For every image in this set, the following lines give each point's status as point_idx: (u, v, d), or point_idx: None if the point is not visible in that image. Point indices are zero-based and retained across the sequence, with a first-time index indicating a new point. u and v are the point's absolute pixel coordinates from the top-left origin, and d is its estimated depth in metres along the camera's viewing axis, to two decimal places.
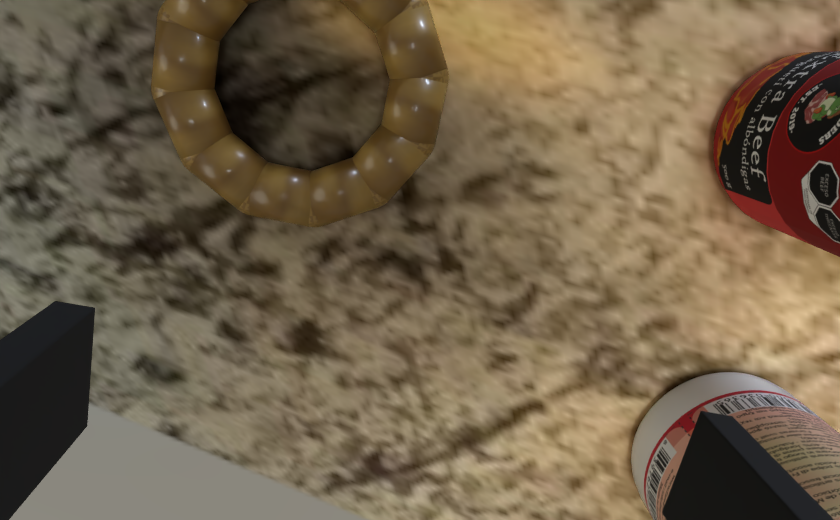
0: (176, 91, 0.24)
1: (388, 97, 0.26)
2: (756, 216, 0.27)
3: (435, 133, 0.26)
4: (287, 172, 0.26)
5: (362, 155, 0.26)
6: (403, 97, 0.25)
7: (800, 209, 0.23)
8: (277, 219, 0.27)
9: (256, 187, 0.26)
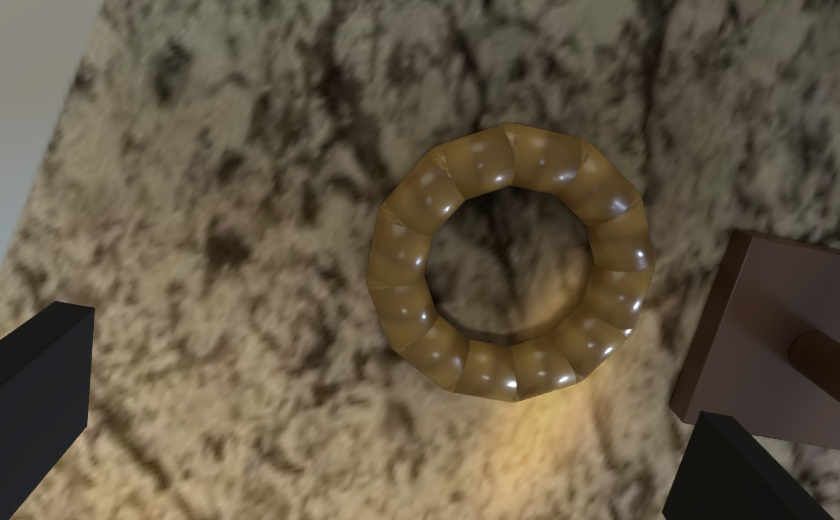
0: (514, 161, 0.24)
1: (496, 352, 0.27)
2: None
3: (461, 393, 0.27)
4: (426, 258, 0.25)
5: (442, 331, 0.26)
6: (498, 371, 0.26)
7: None
8: (376, 246, 0.25)
9: (413, 233, 0.24)
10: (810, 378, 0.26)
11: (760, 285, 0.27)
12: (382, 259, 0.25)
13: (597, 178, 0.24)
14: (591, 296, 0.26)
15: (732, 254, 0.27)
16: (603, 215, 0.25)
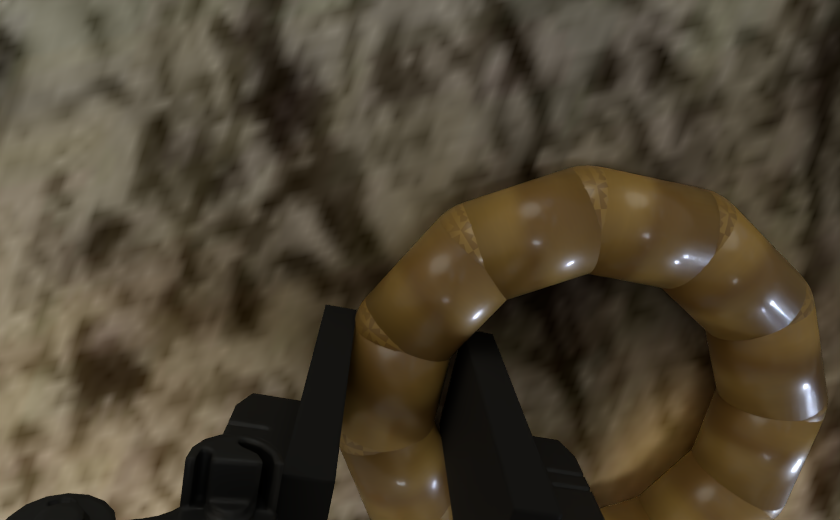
0: (600, 237, 0.13)
1: None
2: None
3: None
4: (437, 397, 0.15)
5: None
6: None
7: None
8: (350, 379, 0.14)
9: (417, 362, 0.14)
10: None
11: None
12: (361, 404, 0.14)
13: (746, 266, 0.13)
14: (714, 451, 0.16)
15: None
16: (752, 328, 0.14)
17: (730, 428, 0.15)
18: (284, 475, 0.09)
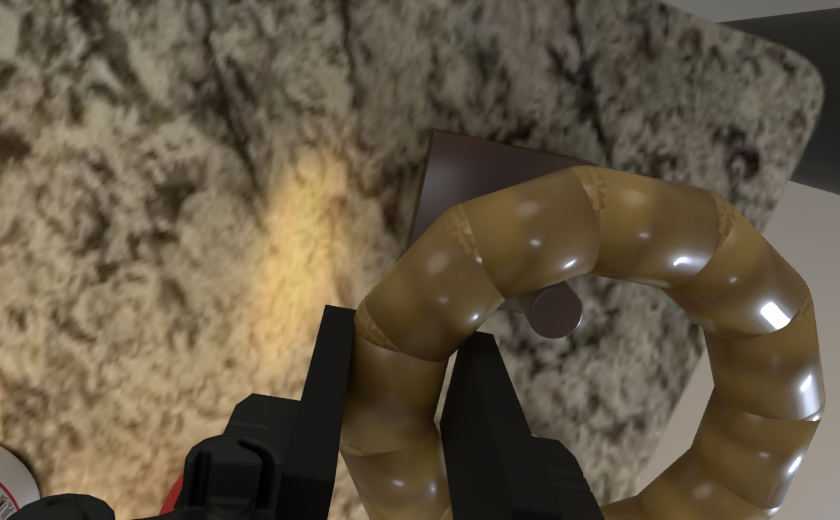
0: (599, 237, 0.13)
1: None
2: (169, 495, 0.37)
3: None
4: (436, 397, 0.15)
5: None
6: None
7: None
8: (349, 380, 0.14)
9: (416, 363, 0.14)
10: None
11: (446, 172, 0.33)
12: (360, 404, 0.14)
13: (745, 265, 0.13)
14: (713, 450, 0.16)
15: (428, 149, 0.33)
16: (750, 327, 0.14)
17: (728, 427, 0.15)
18: (283, 475, 0.09)
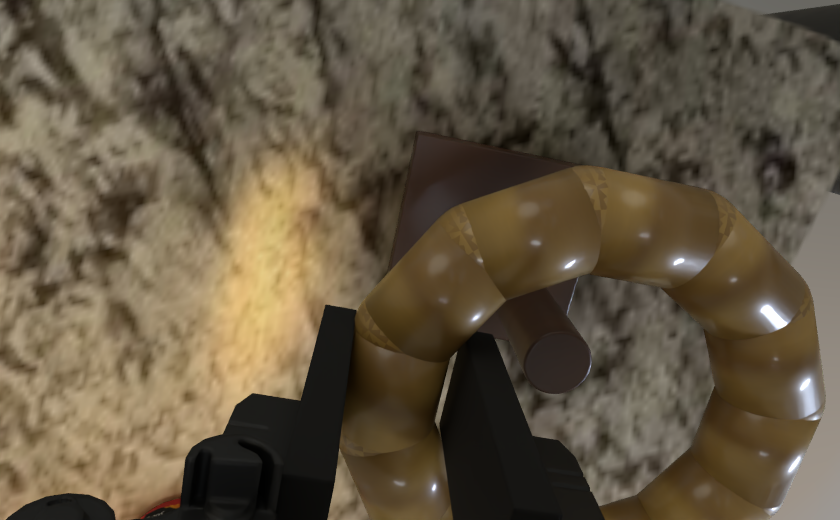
0: (600, 238, 0.13)
1: None
2: None
3: None
4: (437, 397, 0.15)
5: None
6: None
7: None
8: (350, 380, 0.14)
9: (417, 363, 0.14)
10: None
11: (432, 181, 0.28)
12: (361, 405, 0.14)
13: (746, 265, 0.13)
14: (713, 449, 0.16)
15: (412, 154, 0.29)
16: (751, 327, 0.14)
17: (729, 426, 0.15)
18: (283, 475, 0.09)
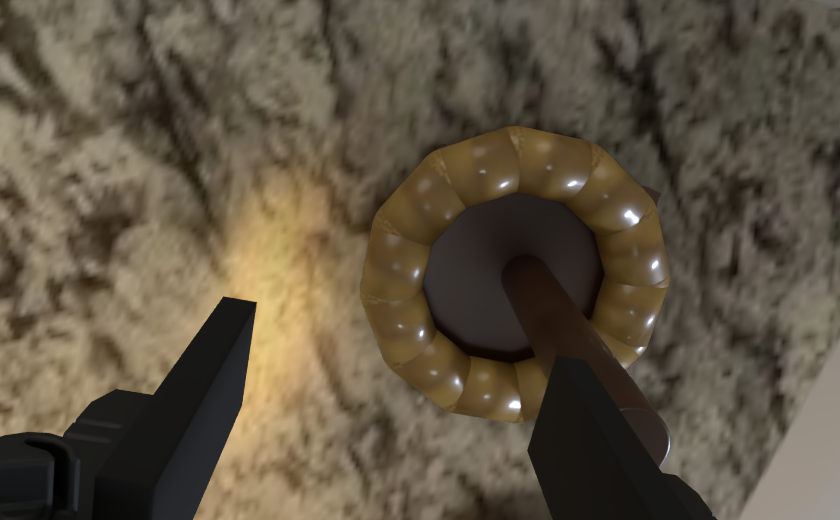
0: (519, 166, 0.22)
1: (499, 370, 0.25)
2: None
3: None
4: (424, 270, 0.24)
5: (441, 348, 0.24)
6: (501, 390, 0.25)
7: None
8: (370, 257, 0.23)
9: (410, 243, 0.23)
10: None
11: None
12: (377, 271, 0.23)
13: (608, 185, 0.22)
14: (601, 311, 0.25)
15: None
16: (615, 225, 0.23)
17: (609, 294, 0.24)
18: (97, 478, 0.08)
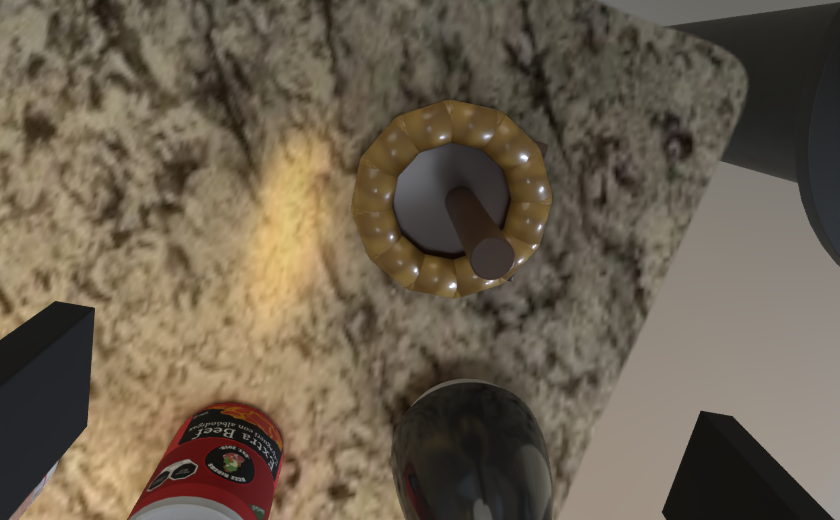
0: (451, 124, 0.35)
1: (443, 261, 0.38)
2: (174, 437, 0.42)
3: None
4: (392, 193, 0.37)
5: (405, 245, 0.38)
6: (444, 273, 0.38)
7: (171, 462, 0.37)
8: (358, 184, 0.36)
9: (383, 174, 0.36)
10: None
11: None
12: (362, 193, 0.36)
13: (508, 137, 0.36)
14: (508, 221, 0.38)
15: None
16: (513, 162, 0.36)
17: (513, 210, 0.37)
18: None
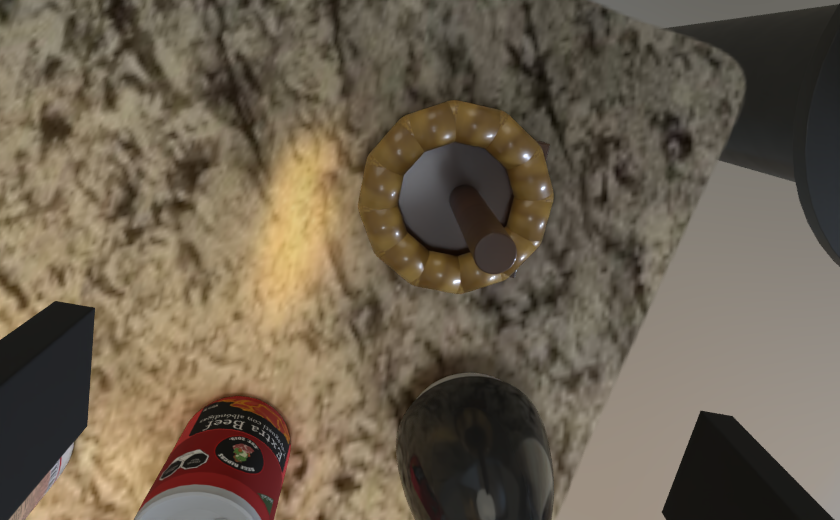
0: (455, 124, 0.36)
1: (447, 257, 0.39)
2: (185, 429, 0.43)
3: (424, 287, 0.40)
4: (398, 191, 0.38)
5: (410, 242, 0.39)
6: (448, 270, 0.39)
7: (182, 452, 0.39)
8: (365, 182, 0.37)
9: (389, 172, 0.37)
10: None
11: None
12: (369, 191, 0.37)
13: (510, 136, 0.36)
14: (511, 219, 0.39)
15: None
16: (515, 161, 0.37)
17: (515, 207, 0.38)
18: None
